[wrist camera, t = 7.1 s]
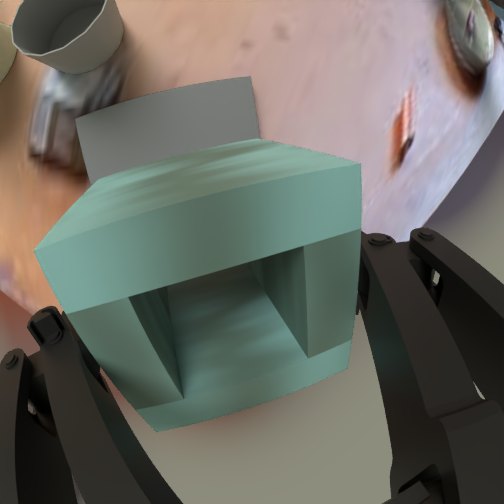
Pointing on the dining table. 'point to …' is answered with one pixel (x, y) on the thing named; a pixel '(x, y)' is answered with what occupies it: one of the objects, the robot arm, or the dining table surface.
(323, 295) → the bead
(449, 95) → the dining table surface
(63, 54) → the cup
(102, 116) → the board
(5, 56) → the can
